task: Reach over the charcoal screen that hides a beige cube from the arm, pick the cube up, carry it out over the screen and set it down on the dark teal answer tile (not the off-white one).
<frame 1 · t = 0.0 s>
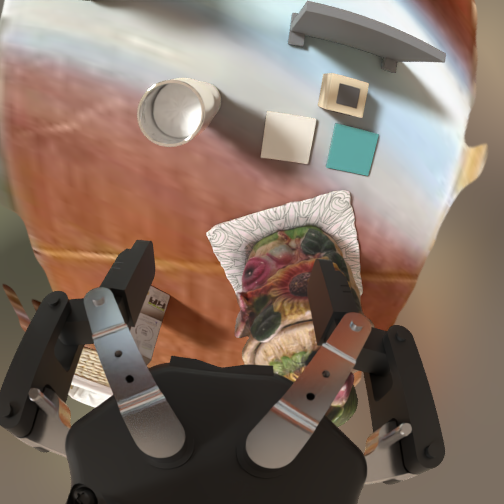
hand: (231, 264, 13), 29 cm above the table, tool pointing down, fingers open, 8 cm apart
storage basket: (108, 362, 74), on the table
beige cube: (337, 93, 33), on the table
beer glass: (200, 101, 34), on the table
cookie jar: (293, 261, 50), on the table
pad B: (352, 149, 38), on the table
screen: (345, 41, 28), on the table
coffee box: (150, 300, 56), on the table
pad A: (287, 137, 37), on the table
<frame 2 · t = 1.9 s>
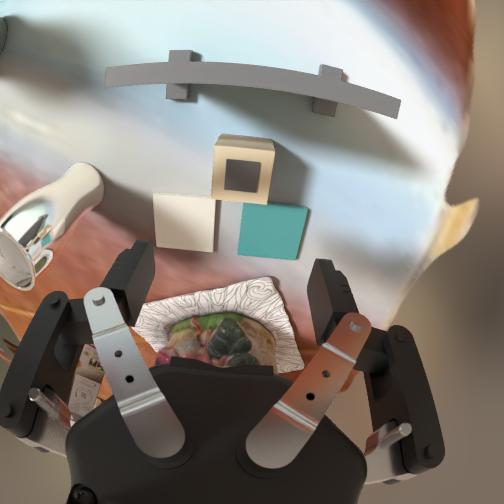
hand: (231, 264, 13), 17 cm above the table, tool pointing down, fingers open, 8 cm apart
beige cube: (243, 159, 27), on the table
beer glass: (84, 185, 28), on the table
cookie jar: (220, 338, 45), on the table
pad B: (271, 230, 32), on the table
screen: (253, 78, 22), on the table
coffee box: (95, 356, 51), on the table
pad A: (184, 221, 31), on the table
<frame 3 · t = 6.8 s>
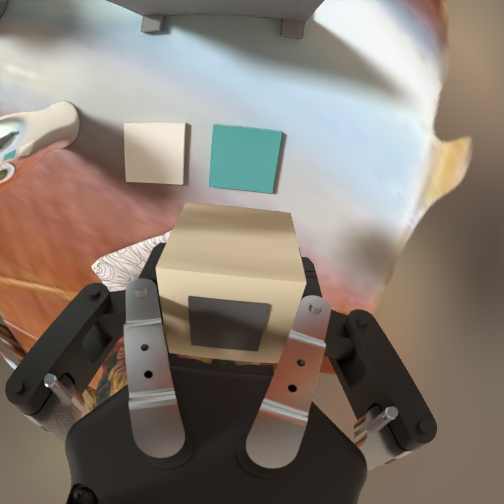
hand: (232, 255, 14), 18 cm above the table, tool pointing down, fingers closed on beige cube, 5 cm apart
beige cube: (233, 250, 14), point 17 cm above the table, touching gripper
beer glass: (62, 124, 25), on the table
cookie jar: (197, 297, 41), on the table
pad B: (244, 158, 28), on the table
screen: (222, 9, 19), on the table
pad A: (154, 152, 28), on the table
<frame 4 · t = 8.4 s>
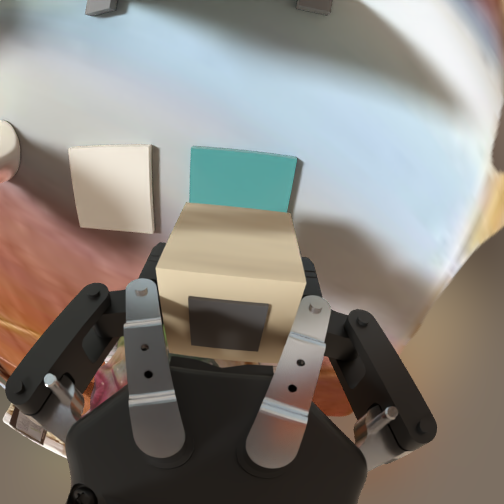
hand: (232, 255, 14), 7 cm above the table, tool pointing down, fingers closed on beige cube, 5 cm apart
storage basket: (52, 406, 57), on the table
beige cube: (233, 250, 14), point 7 cm above the table, touching gripper
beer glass: (4, 149, 16), on the table
cookie jar: (185, 355, 32), on the table
pad B: (239, 196, 20), on the table
coffee box: (52, 366, 38), on the table
pad A: (111, 187, 19), on the table
when the fingers open (2 cm above the table, at t = 9.9 s): beige cube drops 1 cm, resting on pad B.
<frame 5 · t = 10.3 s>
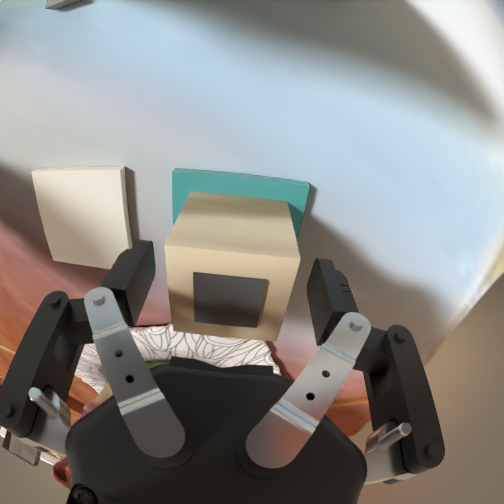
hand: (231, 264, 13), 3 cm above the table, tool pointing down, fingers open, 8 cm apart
storage basket: (48, 419, 53), on the table
beige cube: (234, 236, 15), point 1 cm above the table, touching pad B
cookie jar: (180, 387, 28), on the table
pad B: (235, 231, 16), on the table
coffee box: (44, 386, 35), on the table
pad A: (83, 217, 15), on the table
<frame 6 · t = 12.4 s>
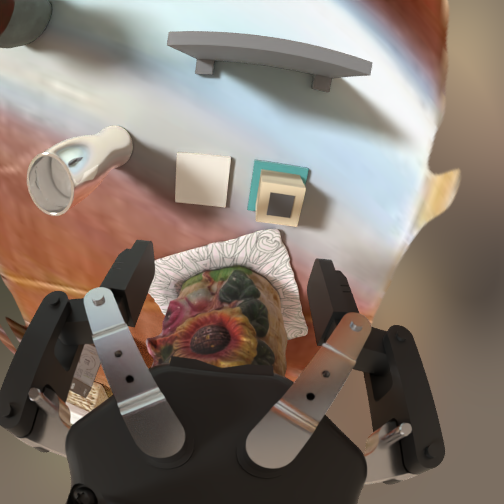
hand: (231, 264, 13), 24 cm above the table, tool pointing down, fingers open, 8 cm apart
storage basket: (79, 381, 72), on the table
beige cube: (277, 189, 36), point 1 cm above the table, touching pad B
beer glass: (114, 145, 33), on the table
cookie jar: (227, 299, 48), on the table
pad B: (277, 188, 36), on the table
screen: (265, 61, 27), on the table
bottle: (35, 21, 19), on the table
coffee box: (100, 328, 54), on the table
pad A: (202, 179, 36), on the table
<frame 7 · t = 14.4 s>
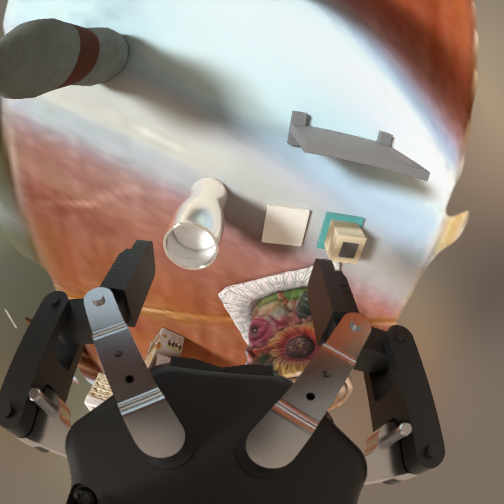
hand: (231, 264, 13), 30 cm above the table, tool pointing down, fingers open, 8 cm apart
storage basket: (127, 386, 85), on the table
beige cube: (340, 233, 47), point 1 cm above the table, touching pad B
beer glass: (208, 194, 44), on the table
cookie jar: (290, 311, 59), on the table
pad B: (339, 232, 47), on the table
screen: (341, 136, 37), on the table
bottle: (107, 56, 29), on the table
coffee box: (167, 339, 66), on the table
pad A: (284, 225, 47), on the table
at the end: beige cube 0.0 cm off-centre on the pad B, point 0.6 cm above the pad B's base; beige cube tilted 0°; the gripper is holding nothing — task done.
